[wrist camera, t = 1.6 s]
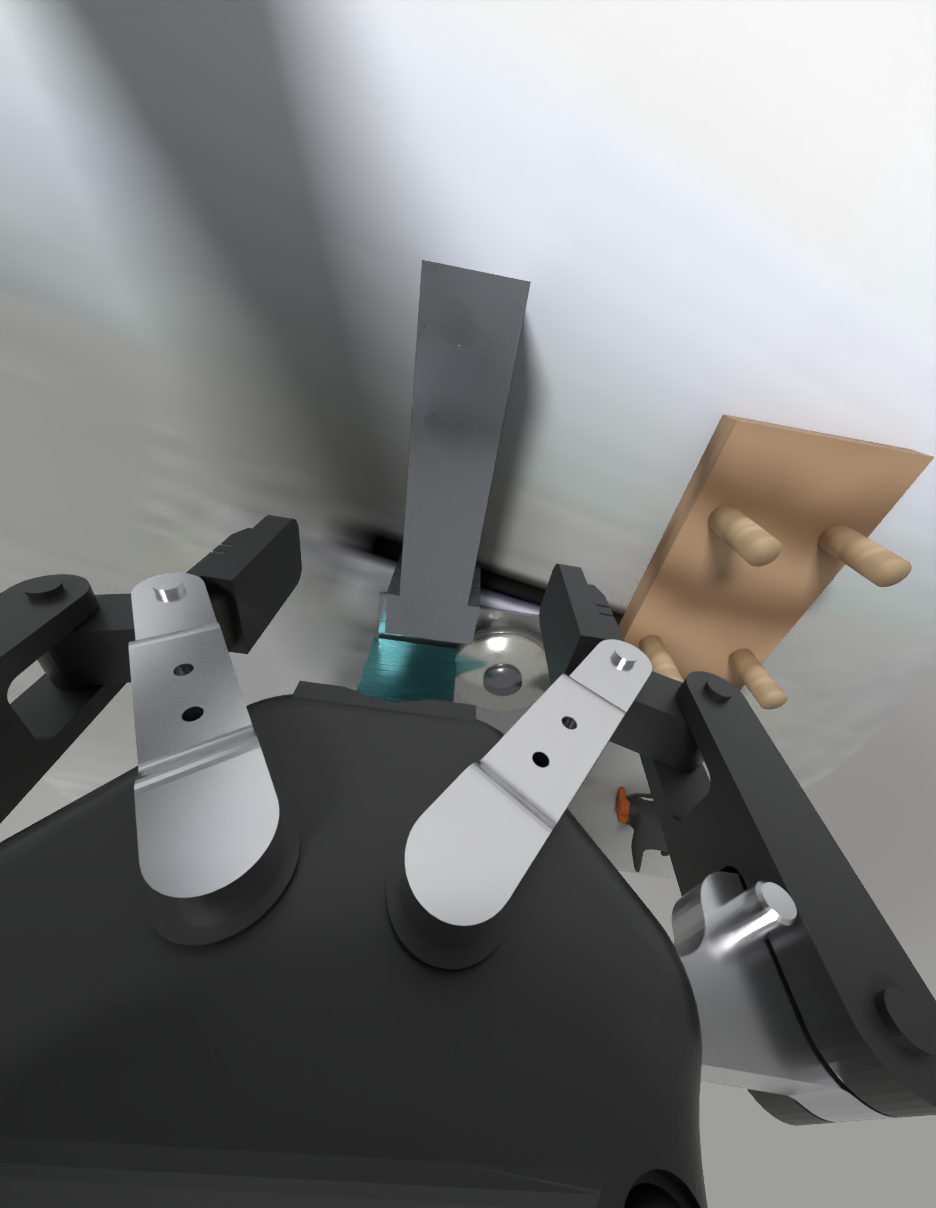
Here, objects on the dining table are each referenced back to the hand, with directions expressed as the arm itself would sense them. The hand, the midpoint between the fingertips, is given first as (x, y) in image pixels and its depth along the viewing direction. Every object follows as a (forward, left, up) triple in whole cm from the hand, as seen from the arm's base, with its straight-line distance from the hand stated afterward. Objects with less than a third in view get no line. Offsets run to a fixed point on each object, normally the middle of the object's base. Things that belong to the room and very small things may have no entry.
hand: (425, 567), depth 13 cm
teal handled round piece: (+16, +3, -12) cm, 20 cm away
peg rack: (+6, +20, -13) cm, 24 cm away
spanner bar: (+1, 0, -13) cm, 13 cm away
